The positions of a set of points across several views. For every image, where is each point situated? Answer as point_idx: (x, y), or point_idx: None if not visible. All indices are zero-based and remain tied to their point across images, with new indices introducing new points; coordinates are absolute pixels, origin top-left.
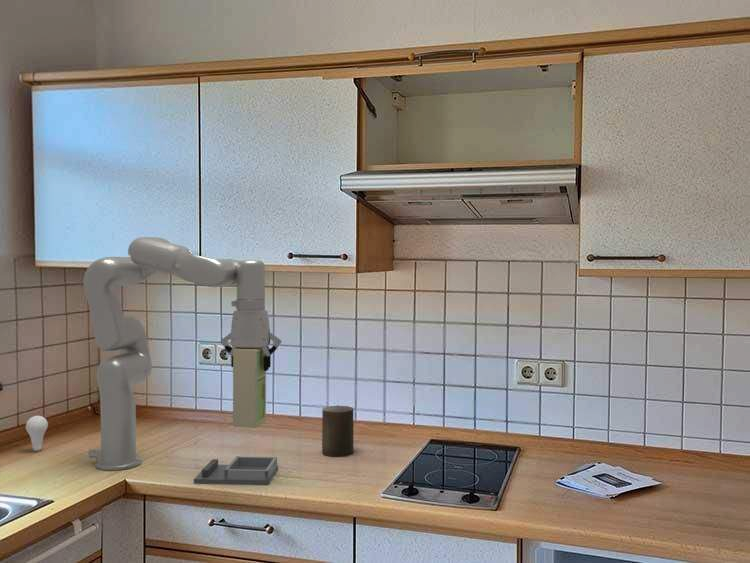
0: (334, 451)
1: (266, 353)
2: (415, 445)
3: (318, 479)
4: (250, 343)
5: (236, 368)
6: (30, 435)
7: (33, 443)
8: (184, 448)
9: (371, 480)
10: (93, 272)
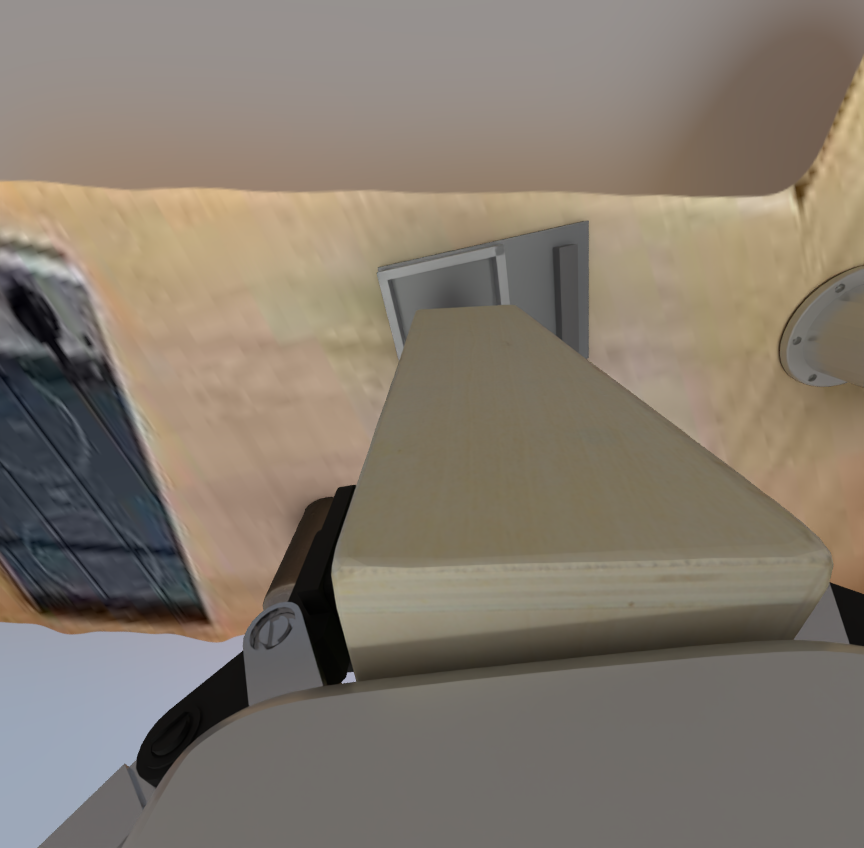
0: (326, 505)
1: (292, 638)
2: (215, 588)
3: (282, 344)
4: (494, 778)
5: (597, 397)
6: None
7: None
8: None
9: (164, 369)
10: None
